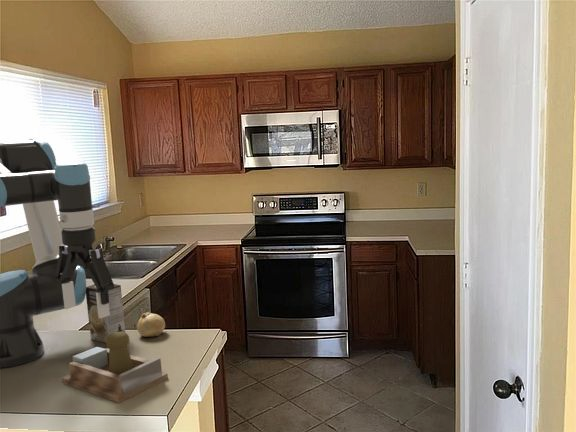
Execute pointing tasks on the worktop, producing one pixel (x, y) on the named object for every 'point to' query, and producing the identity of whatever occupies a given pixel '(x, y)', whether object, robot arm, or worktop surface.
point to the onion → (150, 325)
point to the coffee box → (108, 323)
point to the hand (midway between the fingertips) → (86, 312)
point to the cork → (118, 353)
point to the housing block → (93, 357)
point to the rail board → (108, 392)
